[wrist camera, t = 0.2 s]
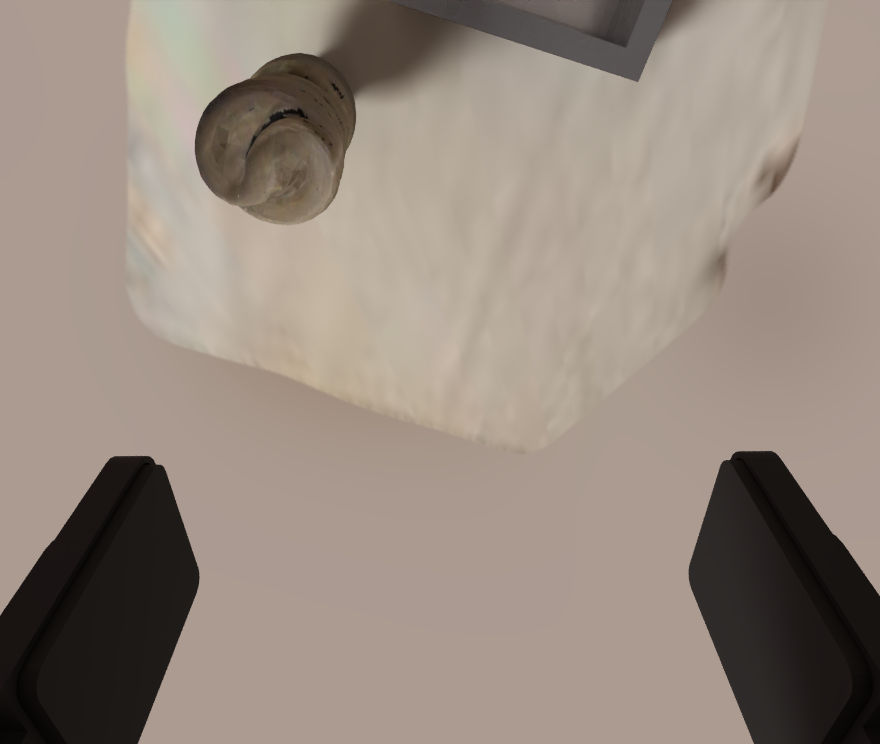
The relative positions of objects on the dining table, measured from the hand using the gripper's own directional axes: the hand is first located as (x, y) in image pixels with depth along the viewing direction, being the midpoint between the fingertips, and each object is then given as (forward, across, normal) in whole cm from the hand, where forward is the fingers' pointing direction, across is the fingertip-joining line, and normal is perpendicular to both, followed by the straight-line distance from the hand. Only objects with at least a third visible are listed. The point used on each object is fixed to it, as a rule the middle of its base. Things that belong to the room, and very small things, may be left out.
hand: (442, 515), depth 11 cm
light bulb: (+31, +7, -2) cm, 31 cm away
